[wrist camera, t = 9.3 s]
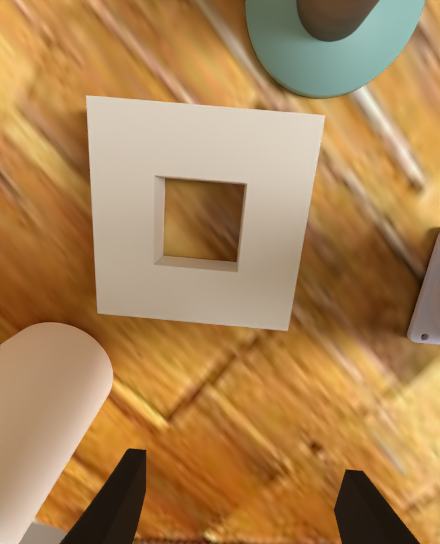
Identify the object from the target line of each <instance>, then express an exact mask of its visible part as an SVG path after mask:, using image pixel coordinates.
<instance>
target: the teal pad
mask: <svg viewBox="0 0 440 544" xmlns="http://www.w3.org/2000/svg"><path fill="white" fill-rule="evenodd" d="M424 3H425V0H380V1H379V2H378V3H377V4H376V6H375V7H374V8H373V10H372V11H371V12H370V14H369V15H368V16H367V17H366V19H365V20H364V21H363V23H362V24H361V25H360V26H359V28H358V29H357V30H356V31H355V32H353V33H352V34H351V35H349V36H348V37H346V38H344V39H342V40H339V41H334V42H325V41H321V40H318V39H316V38H314V37H312V36H311V35H310V34H309V33H308V32H307V31H306V30H305V29H304V27H303V25H302V24H301V22H300V19H299V16H298V13H297V5H296V0H245V14H246V24H247V29H248V34H249V38H250V41H251V44H252V47H253V49H254V51H255V54H256V56H257V58H258V60H259V61H260V63H261V65H262V66H263V68H264V69H265V70H266V71H267V73H268V74H269V75H270V76H271V77H272V78H273V79H274V80H275V81H276V82H277V83H278V84H280V85H281V86H283V87H284V88H286V89H287V90H289V91H291V92H293V93H295V94H298V95H301V96H304V97H310V98H333V97H338V96H342V95H345V94H348V93H350V92H353V91H355V90H357V89H359V88H361V87H362V86H364V85H366V84H367V83H369V82H370V81H371V80H373V79H374V78H375V77H376V76H378V75H379V74H380V73H381V72H383V71H384V70H385V69H386V68H387V67H388V66H389V65H390V64H391V63H392V62H393V61H394V60H395V58H396V57H397V56H398V55H399V54H400V52H401V51H402V50H403V48H404V47H405V45H406V44H407V42H408V41H409V39H410V37H411V35H412V33H413V31H414V30H415V28H416V25H417V23H418V20H419V18H420V16H421V13H422V10H423V6H424Z"/></svg>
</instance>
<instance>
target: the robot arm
mask: <svg viewBox="0 0 440 544" xmlns="http://www.w3.org/2000/svg"><path fill="white" fill-rule="evenodd" d="M423 334H425V335H424V336H423V337H421V336H422V335H423ZM407 337H408V338H409V339H410V340H411V341H412V342H416V343H427V344H438V345H440V232H439V234H438V237H437V240H436V244H435V247H434V250H433V253H432V256H431V259H430V262H429V266H428V269H427V272H426V275H425V278H424V281H423V285H422V288H421V291H420V294H419V297H418V300H417V304H416V307H415V310H414V313H413V316H412V319H411V323H410V326H409V329H408V332H407ZM145 493H146V450H141V449H130V448H129V449H128V450H127V451H126V452H125V454H124V455H123V457H122V459H121V460H120V462H119V463H118V465H117V466H116V468H115V469H114V471H113V472H112V474H111V475H110V477H109V478H108V480H107V481H106V483H105V484H104V486H103V487H102V488H101V490H100V491H99V493H98V494H97V495H96V497H95V498H94V499H93V501H92V502H91V504H90V505H89V506H88V508H87V509H86V510H85V512H84V513H83V514H82V516H81V517H80V518H79V520H78V521H77V522H76V524H75V525H74V526H73V527H72V529H71V530H70V531H69V532H68V534H67V535H66V536H65V538H64V539H63V540H62V541H61V543H60V544H132V543H133V540H134V536H135V533H136V530H137V526H138V522H139V518H140V514H141V510H142V506H143V501H144V497H145ZM334 512H335V516H336V520H337V525H338V529H339V533H340V537H341V541H342V544H420V543H419V542H418V540H417V539H416V538H415V537H414V536H413V534H412V533H411V532H410V531H409V529H408V528H407V527H406V526H405V524H404V523H403V522H402V521H401V519H400V518H399V517H398V515H397V514H396V513H395V512H394V510H393V509H392V508H391V506H390V505H389V504H388V503H387V501H386V500H385V499H384V497H383V496H382V495H381V494H380V492H379V491H378V490H377V488H376V487H375V486H374V485H373V483H372V482H371V481H370V479H369V478H368V477H367V476H366V474H365V473H364V472H363V471H357V470H347V469H346V471H345V474H344V478H343V481H342V484H341V488H340V491H339V495H338V498H337V501H336V505H335V508H334Z"/></svg>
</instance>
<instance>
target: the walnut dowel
mask: <svg viewBox="0 0 440 544" xmlns="http://www.w3.org/2000/svg"><path fill="white" fill-rule="evenodd" d="M379 1H380V0H296V5H297V13H298V16H299V19H300V22H301V24H302V25H303V27H304V29H305V30H306V31H307V32H308V33H309V34H310V35H311V36H312V37H314V38H316V39H318V40H321V41H325V42H334V41H339V40H342V39H344V38H346V37H348V36H349V35H351V34H352V33H353V32H355V31H356V30H357V29H358V28H359V26H360V25H361V24H362V23H363V21H364V20H365V19H366V17H367V16H368V15H369V14H370V12H371V11H372V10H373V8H374V7H375V6H376V4H377V3H378V2H379Z"/></svg>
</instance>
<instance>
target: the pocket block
mask: <svg viewBox="0 0 440 544" xmlns="http://www.w3.org/2000/svg"><path fill="white" fill-rule="evenodd" d="M86 103H87V122H88V141H89V161H90V180H91V199H92V219H93V238H94V257H95V277H96V296H97V314H108V315H119V316H130V317H141V318H152V319H162V320H173V321H184V322H195V323H206V324H217V325H228V326H239V327H250V328H261V329H272V330H283V331H288V328H289V322H290V316H291V311H292V305H293V299H294V293H295V288H296V282H297V276H298V270H299V265H300V259H301V253H302V247H303V242H304V236H305V230H306V224H307V219H308V213H309V207H310V201H311V196H312V190H313V184H314V178H315V173H316V167H317V161H318V155H319V150H320V144H321V138H322V132H323V127H324V121H325V115H316V114H304V113H292V112H280V111H268V110H256V109H244V108H232V107H220V106H208V105H196V104H184V103H172V102H160V101H148V100H136V99H124V98H112V97H100V96H88V95H86ZM165 178H171V179H183V180H195V181H206V182H218V183H229V184H241V185H245V187H244V197H243V207H242V216H241V226H240V235H239V245H238V255H237V262H230V261H219V260H208V259H197V258H186V257H174V256H164V213H165Z"/></svg>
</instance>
